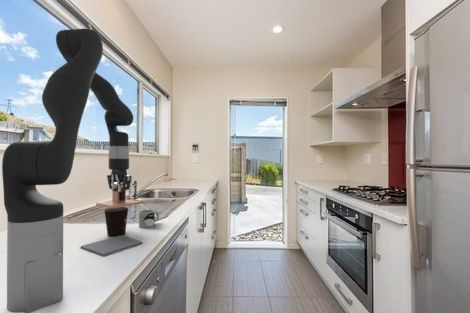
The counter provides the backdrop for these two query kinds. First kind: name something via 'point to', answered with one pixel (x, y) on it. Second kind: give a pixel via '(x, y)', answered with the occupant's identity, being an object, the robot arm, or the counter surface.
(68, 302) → the counter surface
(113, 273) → the counter surface
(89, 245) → the mat
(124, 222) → the coffee mug
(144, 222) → the mug
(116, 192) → the lid
